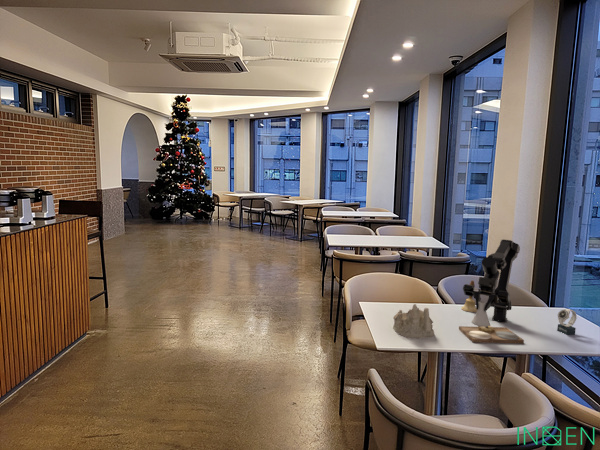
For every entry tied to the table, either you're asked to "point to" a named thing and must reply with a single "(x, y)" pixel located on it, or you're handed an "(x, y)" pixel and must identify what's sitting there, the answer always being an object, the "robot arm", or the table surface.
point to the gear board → (490, 334)
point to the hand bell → (470, 303)
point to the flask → (481, 316)
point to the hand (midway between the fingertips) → (480, 309)
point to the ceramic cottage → (414, 323)
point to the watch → (568, 327)
